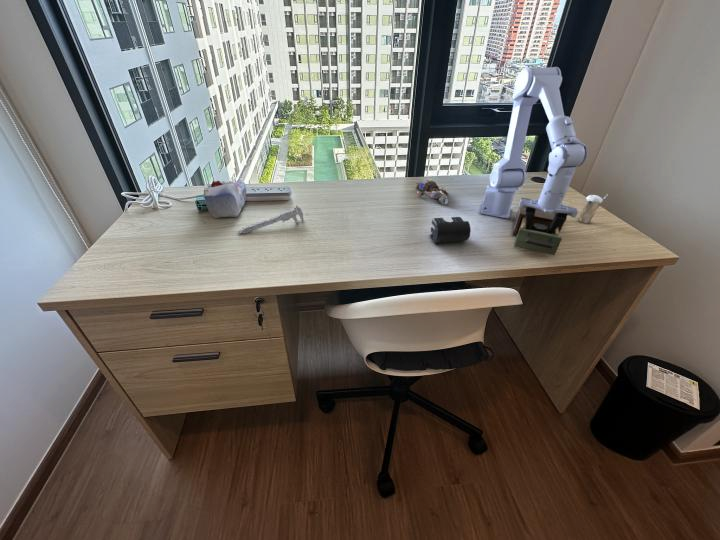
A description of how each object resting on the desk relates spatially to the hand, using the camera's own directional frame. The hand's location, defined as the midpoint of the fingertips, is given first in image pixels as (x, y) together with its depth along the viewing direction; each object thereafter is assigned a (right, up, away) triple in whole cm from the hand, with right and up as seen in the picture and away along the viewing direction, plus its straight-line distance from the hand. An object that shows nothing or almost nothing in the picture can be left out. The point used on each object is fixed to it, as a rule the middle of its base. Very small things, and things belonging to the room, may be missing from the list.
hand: (537, 233), depth 97 cm
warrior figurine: (-24, +17, +30) cm, 42 cm away
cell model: (-98, +11, +20) cm, 101 cm away
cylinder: (0, -2, +1) cm, 2 cm away
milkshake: (+24, +6, +15) cm, 29 cm away
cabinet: (+4, +2, +10) cm, 11 cm away
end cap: (-26, -2, +4) cm, 26 cm away
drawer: (-1, -3, +1) cm, 4 cm away
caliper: (-80, +3, +9) cm, 81 cm away
